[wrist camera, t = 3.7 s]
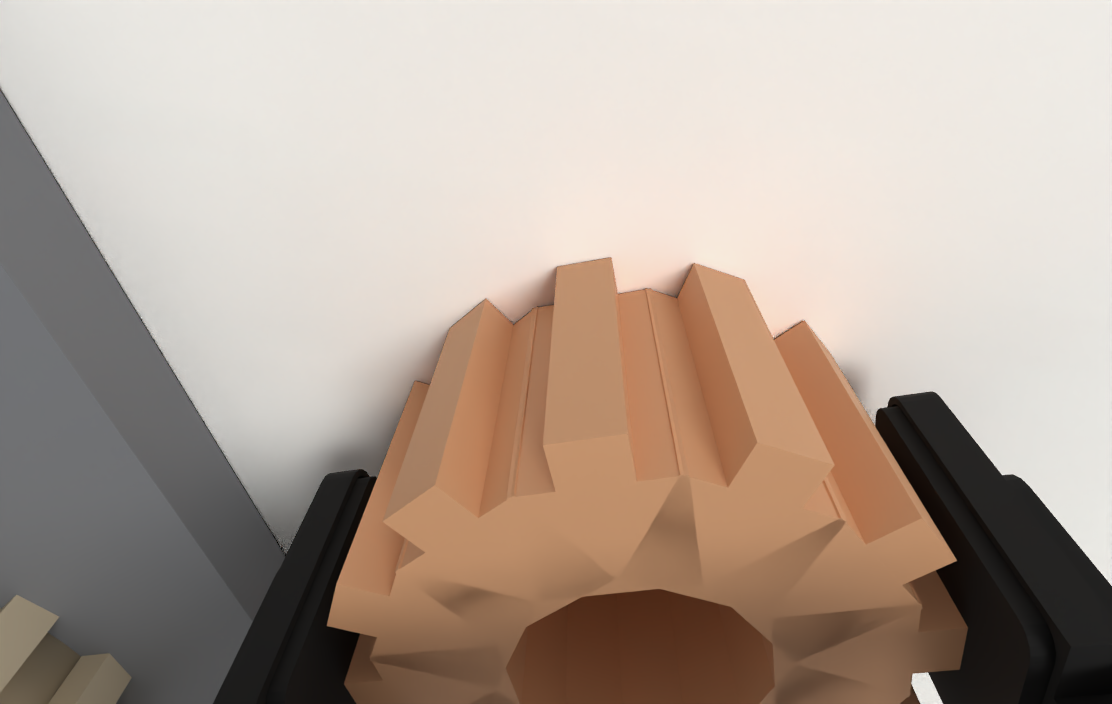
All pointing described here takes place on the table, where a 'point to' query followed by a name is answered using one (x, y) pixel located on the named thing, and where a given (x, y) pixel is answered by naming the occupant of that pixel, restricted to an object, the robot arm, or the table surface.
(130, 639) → the gear board
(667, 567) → the loose gear
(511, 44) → the table surface
